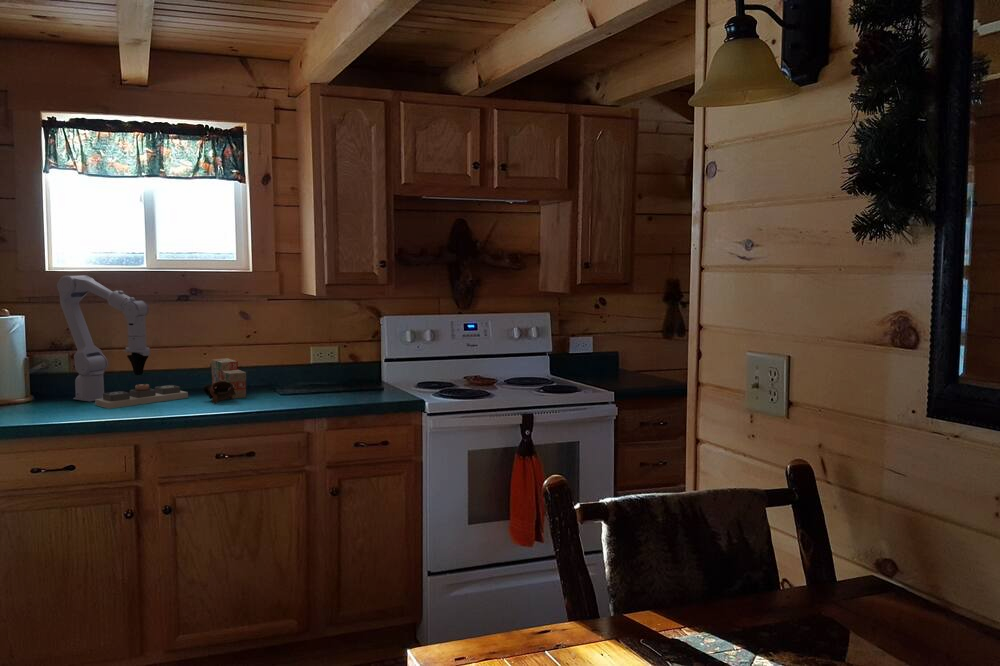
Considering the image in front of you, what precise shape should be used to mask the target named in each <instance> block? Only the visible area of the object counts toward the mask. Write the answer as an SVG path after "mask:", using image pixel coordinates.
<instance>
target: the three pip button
mask: <svg viewBox="0 0 1000 666" xmlns="http://www.w3.org/2000/svg"><path fill="white" fill-rule="evenodd" d="M149 388H150V384H148V383H143V384H142V383H141V384H140V383H139V384H136V385H135V389H136V390H139V391H141V390H149Z"/></svg>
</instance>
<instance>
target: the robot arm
mask: <svg viewBox="0 0 1000 666" xmlns="http://www.w3.org/2000/svg"><path fill="white" fill-rule="evenodd" d="M56 288H57V291H58V294H59V304H60V307H61V310H62V312H63V315H64V318H65V320H66V323H67V326H68V329H69V331H70V334H71V337H72V339H73V342H74V344H75V347H76V349H77V350H76V352H75V353H74V355H73V359H74V368H75V369H74V370H75V372H76V373H78V375H77V376H76V378H75V380H74V385H75V386H74V387H75V397H73V400H78V401H83V402H95V399H101V398H103V393H105V384H104V383H105V381H104V374H105V371H106V370H107V368H108V365H109V361H108V359H107V357H106V356H105V355H104V354H103V351H102V349H100V348H99V347H97V345H95V344H94V341H93V339H92V335H91V332H90V331H89V328H88V324H87V323H86V319H85V317H84V314H83V312H82V309H81V306H80V302H81V301H82V299H83V298H85V296H87V294H88V293H92V294H94V295H96V296H98V297H100V298H102V299H105V300H107V301H106V302H107V303H108V305H109V306H111V307H112V308H114V309H116V310H118V311H120V312H122V314H123V315H124V317H125V322H126V324H127V345H128V346H125V354H127V356H126V357H127V358H128V360H129V362H130V364H131V367H132V369H133V373H134V375H135V376H142V375H143V373H144V369H145V366H146V365H145V364H146V363H147V360H148V358H149V357H150V356H151V348H150V347H147V328H146V327H147V325H146V323H147V322H146V316H147V315H148V314H149V311H150V310H149V305H148V304H147V302H146V301H144V300H140V299H139V300H136V298H135V297H134V296H129V295H127V294H126V293H125V291H123V290H114V291H112V290H111V289H110V288H107V287H106V286H105V285H102V284H101V283H99V282H98V281H97V280H95V279H94V278H93V277H91V276H88V275H87V274H80V275H62V276H61V277H60V278H59V280H58V282H57V284H56ZM129 353H130V354H129Z"/></svg>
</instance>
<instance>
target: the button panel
mask: <svg viewBox="0 0 1000 666" xmlns="http://www.w3.org/2000/svg"><path fill="white" fill-rule="evenodd" d="M162 386H163V385H159V386H154V388H150V387H149V390H141V391H139V390H136V389H130V390H129V392H126V391H123V390H119V391H117V392H123V394H117V395H109V393H113V392H114V391H111V392H104V393H103V398H101V399H95V401H94V405H95V406H97V407H101V408H104V409H108V410H110V409H117V408H123V407H124V408H125V407H133V406H139V405H146V404H152V403H159V402H167V401H174V400H181V399H183V400H184V399H188V398H189V392H188V391H183V390H181V386H178V385H174V384H168V385H165V386H174V387H173V388H165V389H163V388H161V387H162Z"/></svg>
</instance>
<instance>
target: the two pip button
mask: <svg viewBox="0 0 1000 666" xmlns="http://www.w3.org/2000/svg"><path fill="white" fill-rule="evenodd" d="M112 392H113V393H110V392H108V393H109V395H117V394H123V392H124V391H123V392H118V391H112Z"/></svg>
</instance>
